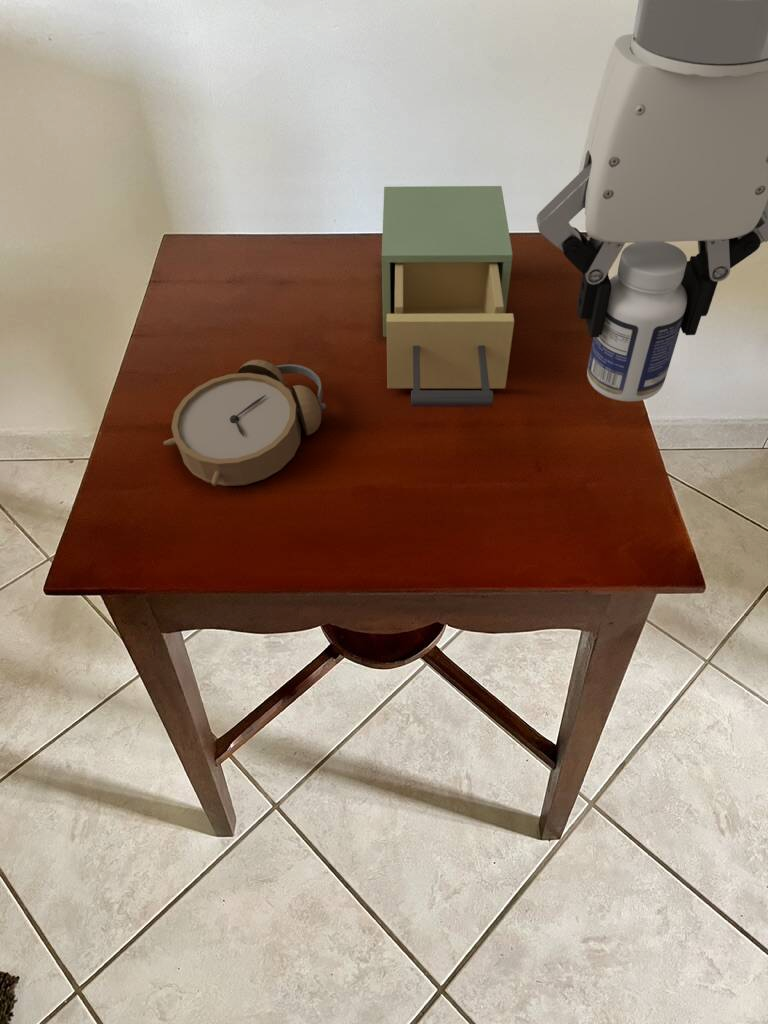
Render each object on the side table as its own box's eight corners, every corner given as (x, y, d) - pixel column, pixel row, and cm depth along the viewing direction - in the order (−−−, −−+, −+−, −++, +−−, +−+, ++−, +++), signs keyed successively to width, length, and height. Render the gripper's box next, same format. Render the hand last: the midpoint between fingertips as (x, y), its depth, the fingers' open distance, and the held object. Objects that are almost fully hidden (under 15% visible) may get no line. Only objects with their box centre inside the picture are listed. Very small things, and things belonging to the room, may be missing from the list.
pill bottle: (657, 356, 57) (692, 234, 50) (668, 405, 53) (707, 281, 46) (582, 354, 57) (606, 232, 50) (588, 402, 54) (614, 279, 47)
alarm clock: (143, 423, 69) (266, 325, 74) (164, 456, 74) (279, 362, 78) (221, 487, 64) (347, 377, 69) (238, 518, 68) (356, 413, 73)
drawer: (512, 444, 70) (522, 377, 64) (386, 444, 70) (385, 377, 64) (495, 311, 83) (502, 245, 77) (389, 312, 83) (388, 246, 77)
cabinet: (502, 337, 82) (512, 254, 74) (383, 337, 82) (381, 255, 75) (493, 265, 90) (501, 185, 83) (385, 265, 91) (384, 186, 83)
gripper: (863, -15, 40) (751, 289, 54) (531, -2, 41) (504, 294, 55) (927, 37, 35) (785, 356, 49) (548, 51, 36) (514, 362, 50)
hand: (638, 321), depth 52 cm, fingers closed on pill bottle, 5 cm apart
